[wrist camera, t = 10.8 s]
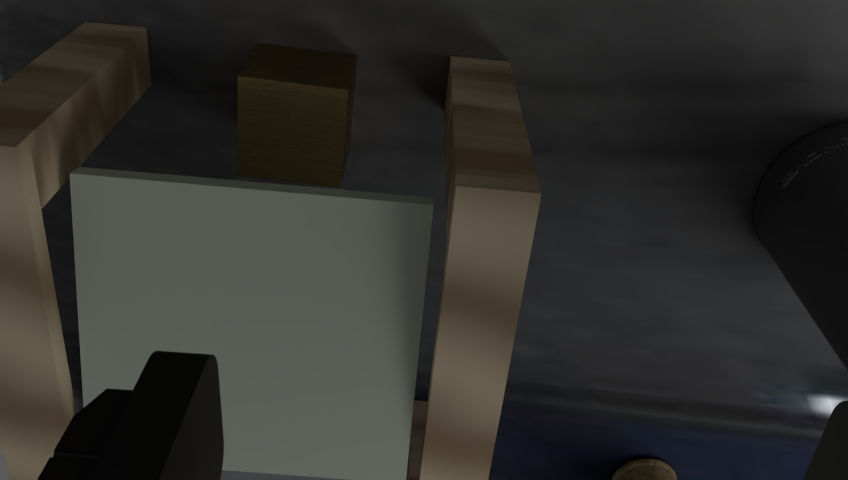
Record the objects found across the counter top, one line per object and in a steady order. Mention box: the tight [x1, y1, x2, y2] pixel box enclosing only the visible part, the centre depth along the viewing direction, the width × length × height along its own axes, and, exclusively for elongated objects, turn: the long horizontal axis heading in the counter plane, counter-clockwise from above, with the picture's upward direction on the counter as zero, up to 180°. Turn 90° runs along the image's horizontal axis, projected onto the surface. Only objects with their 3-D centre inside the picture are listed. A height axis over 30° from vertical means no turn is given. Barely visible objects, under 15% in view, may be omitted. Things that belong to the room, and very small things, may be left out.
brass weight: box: [237, 43, 357, 188], centre depth 40 cm, size 5×5×5 cm
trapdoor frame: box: [0, 22, 542, 480], centre depth 41 cm, size 26×21×14 cm
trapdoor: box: [70, 167, 434, 480], centre depth 36 cm, size 20×14×3 cm
